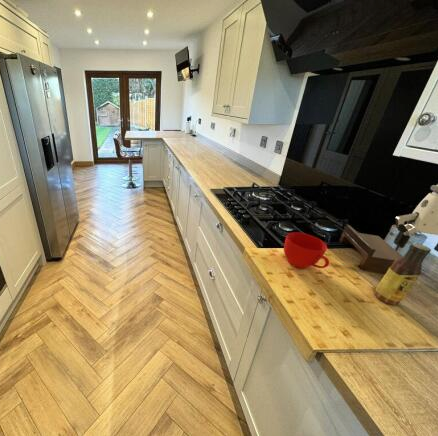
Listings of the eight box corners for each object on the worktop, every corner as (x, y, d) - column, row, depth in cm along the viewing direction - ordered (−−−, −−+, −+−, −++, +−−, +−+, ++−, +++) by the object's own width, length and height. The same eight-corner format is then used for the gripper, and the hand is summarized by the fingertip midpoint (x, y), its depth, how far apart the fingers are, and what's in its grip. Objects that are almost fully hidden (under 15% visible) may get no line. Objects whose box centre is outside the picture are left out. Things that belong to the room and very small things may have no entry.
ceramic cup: (304, 283, 81) (314, 259, 76) (271, 254, 95) (279, 233, 91) (335, 279, 83) (347, 256, 79) (298, 252, 98) (307, 231, 93)
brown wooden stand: (371, 248, 103) (382, 229, 99) (401, 277, 86) (416, 256, 82) (337, 243, 106) (346, 224, 102) (360, 270, 89) (372, 249, 85)
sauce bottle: (390, 307, 72) (427, 254, 63) (368, 293, 77) (399, 242, 69) (404, 303, 74) (442, 251, 65) (382, 290, 79) (414, 239, 70)
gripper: (426, 192, 58) (390, 249, 66) (517, 203, 54) (468, 262, 62) (405, 183, 65) (375, 236, 72) (485, 192, 61) (444, 248, 68)
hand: (418, 248), depth 67 cm, fingers open, 9 cm apart
